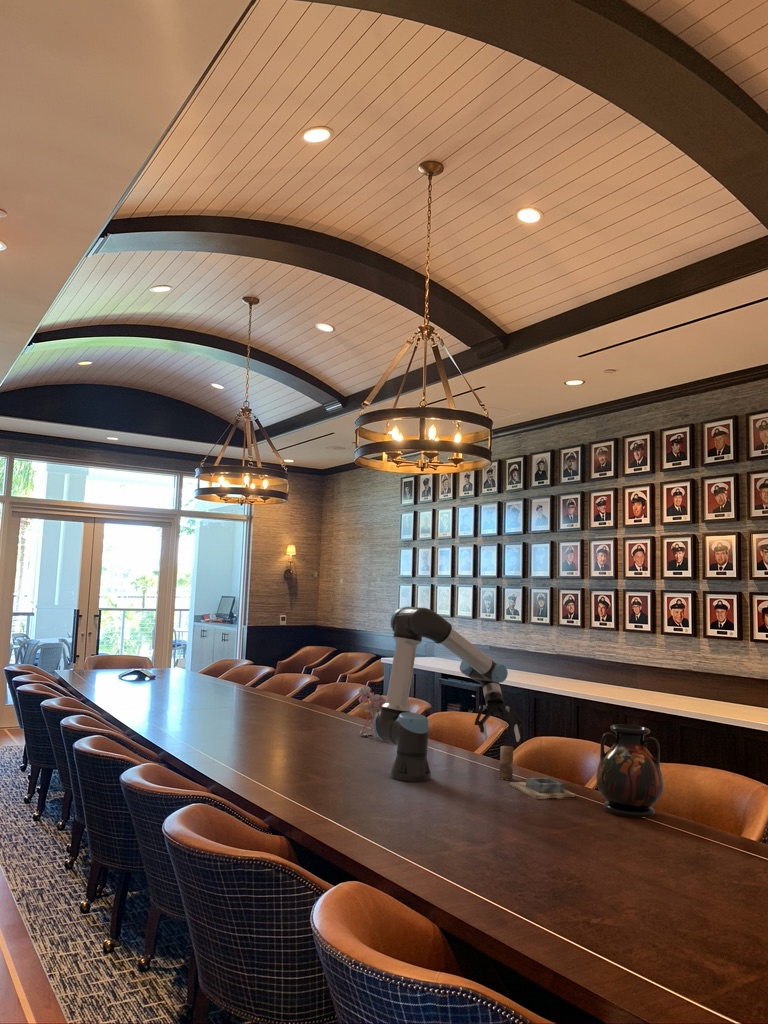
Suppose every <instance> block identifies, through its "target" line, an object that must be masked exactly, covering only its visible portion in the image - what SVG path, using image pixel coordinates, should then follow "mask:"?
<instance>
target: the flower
mask: <svg viewBox="0 0 768 1024" xmlns="http://www.w3.org/2000/svg"><path fill="white" fill-rule="evenodd" d="M360 687H361V688H360V689H358V693H359V695H360V697H359V698H358V702H359V703H361V704H362V703H364V704H363V705H359V706H358V707H357V709H356V710H359V709H363V708H364V709H365V710H364V713H367V717H366V721H365V723H364V726H363V727H362V729H361V730H360V732H359V734H358V735H357V737H358V736H359V737H362V736H366V735H367V736H366V737H369V736H368V735H371V736H372V735H373V732H371V731H372V730H374V729H373V727H372V728H369V729H368V727H369V726H370V725H371V724H373V721H374V718H375V716H376V715H377V714H378V713H379V712H380V711H381V706H382V705H383V704H384V703H386V699H387V697H386V698H385V697H384V694H382V695H381V694H378V693H377V694H376V693H374V691H373V692H371V688H370V687H367V686H363V685H361V686H360ZM369 701H370V702H369ZM365 704H366V705H365ZM367 704H368V705H367ZM370 715H371V716H372V719H370Z"/></svg>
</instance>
